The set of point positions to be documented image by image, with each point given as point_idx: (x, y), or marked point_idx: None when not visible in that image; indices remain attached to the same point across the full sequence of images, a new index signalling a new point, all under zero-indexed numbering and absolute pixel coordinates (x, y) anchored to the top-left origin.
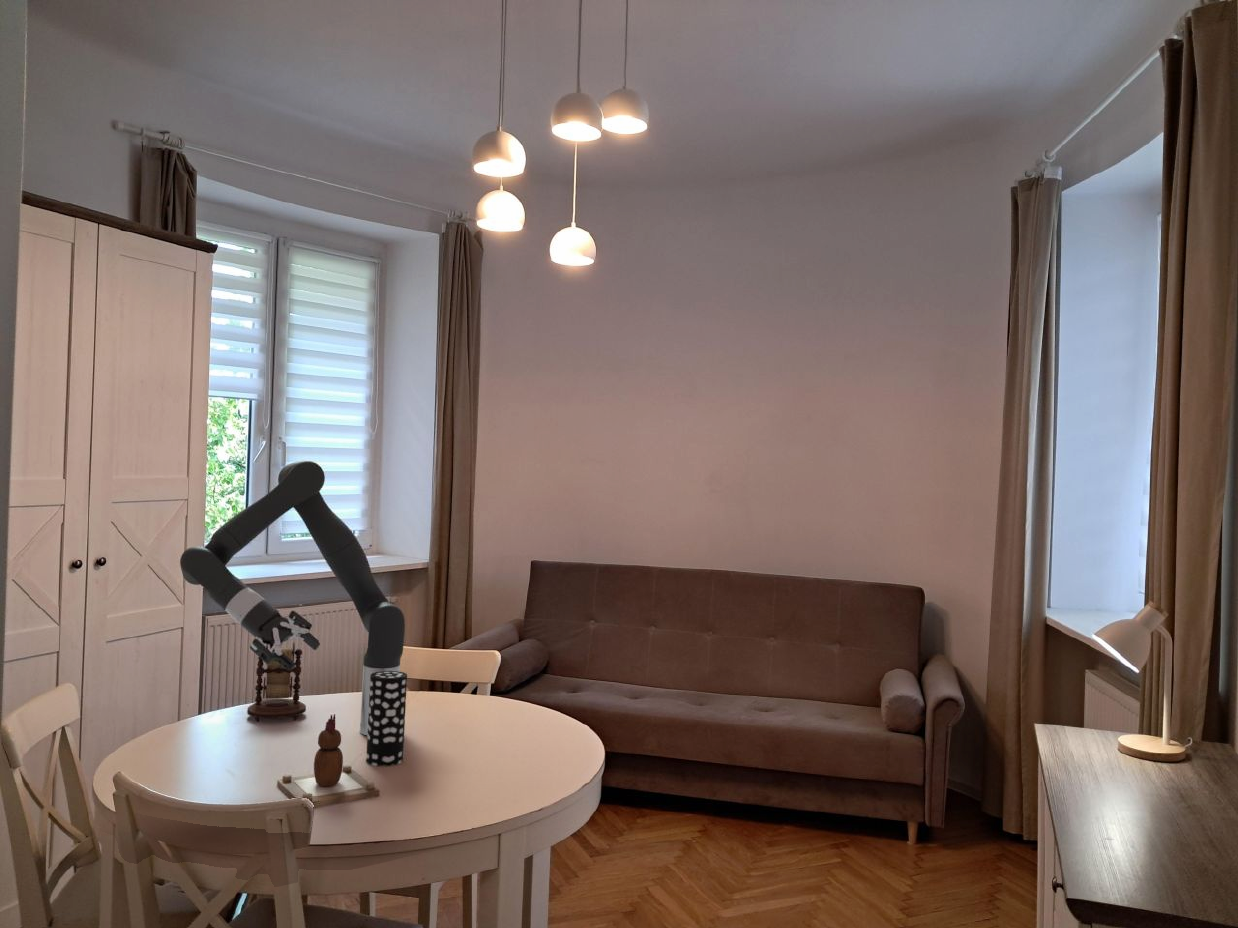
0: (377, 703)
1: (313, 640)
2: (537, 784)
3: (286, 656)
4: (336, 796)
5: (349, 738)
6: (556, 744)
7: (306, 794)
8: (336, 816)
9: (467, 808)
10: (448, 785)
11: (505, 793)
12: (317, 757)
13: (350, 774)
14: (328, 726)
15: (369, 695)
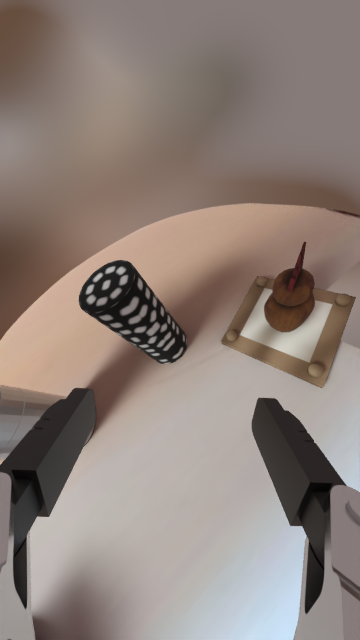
0: (156, 303)
1: (71, 412)
2: (169, 232)
3: (294, 451)
4: None
5: (109, 442)
6: (88, 274)
7: (344, 299)
8: (332, 266)
9: (236, 226)
10: (200, 262)
11: (195, 232)
12: (313, 300)
13: (239, 326)
14: (297, 275)
15: (139, 323)
